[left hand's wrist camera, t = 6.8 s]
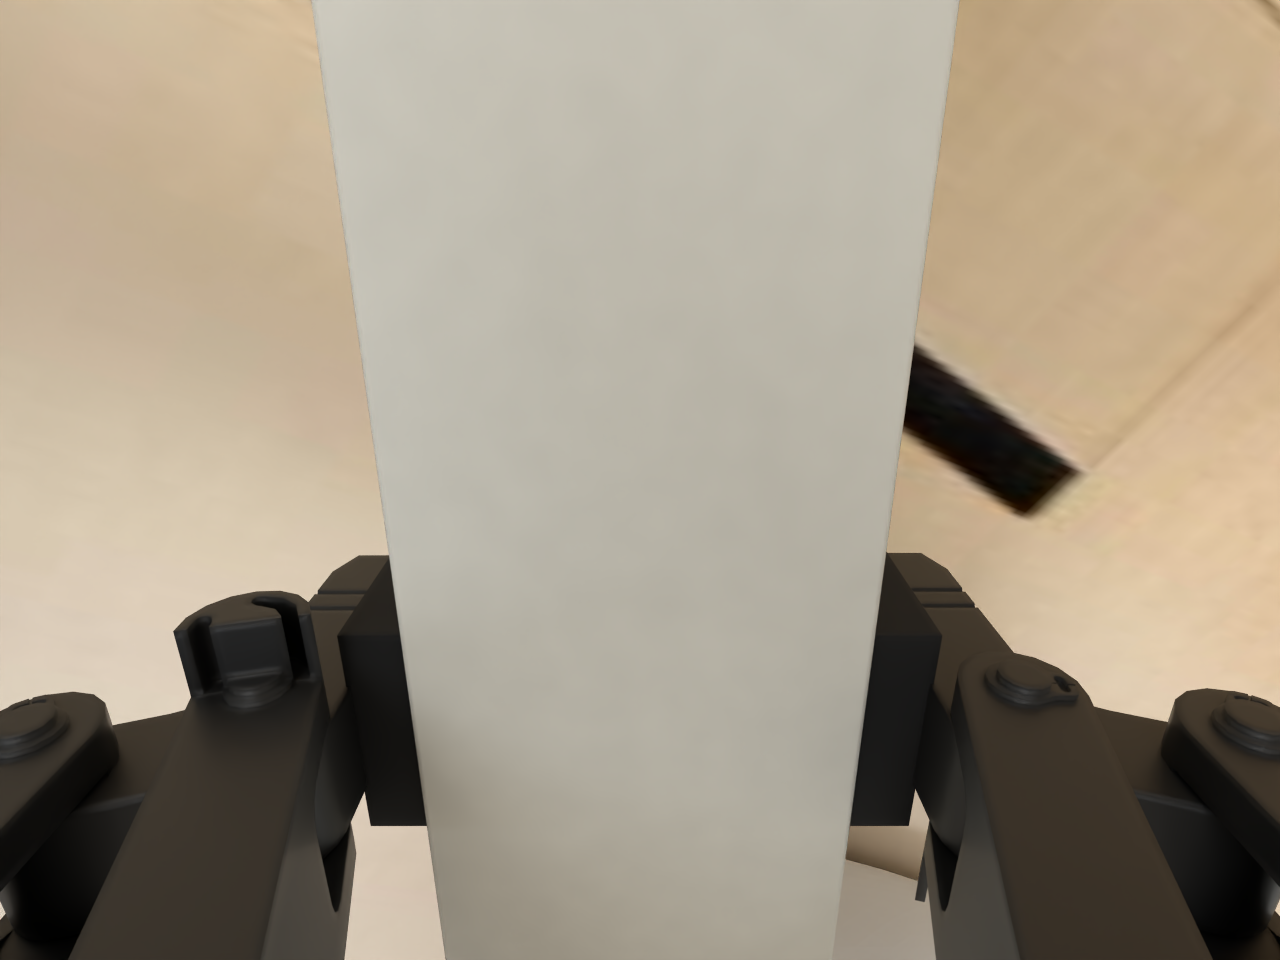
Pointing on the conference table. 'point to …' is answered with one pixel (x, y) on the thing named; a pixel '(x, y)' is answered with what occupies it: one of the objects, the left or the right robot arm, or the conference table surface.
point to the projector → (881, 917)
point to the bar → (637, 439)
